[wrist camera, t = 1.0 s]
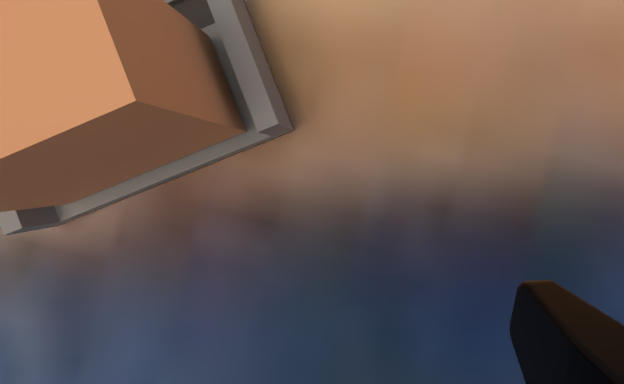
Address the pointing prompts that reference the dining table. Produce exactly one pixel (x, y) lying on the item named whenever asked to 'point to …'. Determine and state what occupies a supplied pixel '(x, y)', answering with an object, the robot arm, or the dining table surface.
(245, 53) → the gray open tray
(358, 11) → the dining table surface
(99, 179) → the terracotta block
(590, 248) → the dining table surface
